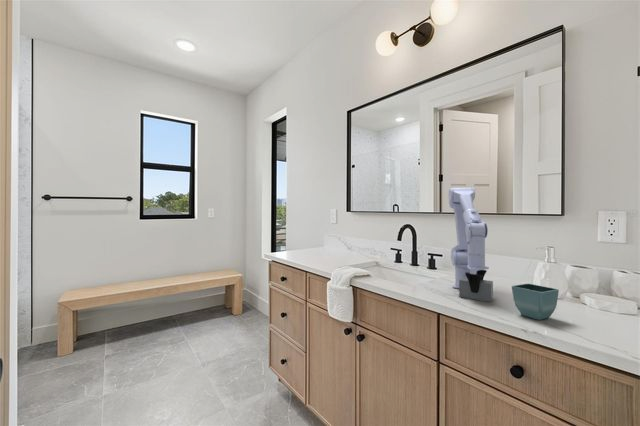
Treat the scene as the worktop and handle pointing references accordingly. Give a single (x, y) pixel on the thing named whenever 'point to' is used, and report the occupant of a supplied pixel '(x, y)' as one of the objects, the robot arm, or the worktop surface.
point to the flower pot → (535, 300)
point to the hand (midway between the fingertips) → (476, 290)
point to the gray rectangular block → (483, 293)
